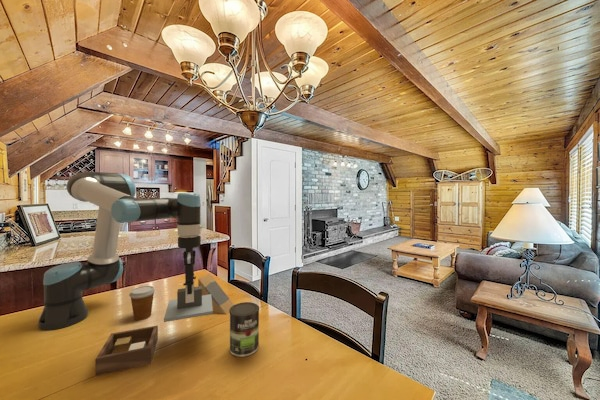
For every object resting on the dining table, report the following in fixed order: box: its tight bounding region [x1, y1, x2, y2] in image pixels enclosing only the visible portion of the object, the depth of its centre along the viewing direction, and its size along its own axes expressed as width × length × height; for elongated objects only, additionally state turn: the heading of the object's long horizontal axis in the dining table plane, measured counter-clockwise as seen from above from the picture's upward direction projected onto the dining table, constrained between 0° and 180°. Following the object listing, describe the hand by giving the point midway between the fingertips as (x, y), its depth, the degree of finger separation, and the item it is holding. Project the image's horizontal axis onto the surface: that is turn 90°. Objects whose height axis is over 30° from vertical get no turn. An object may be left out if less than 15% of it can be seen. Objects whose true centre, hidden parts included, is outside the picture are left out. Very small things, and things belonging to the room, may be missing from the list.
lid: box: [163, 286, 214, 323], centre depth 89 cm, size 15×15×7 cm
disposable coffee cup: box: [128, 285, 156, 321], centre depth 108 cm, size 10×10×12 cm
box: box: [94, 325, 159, 377], centre depth 81 cm, size 14×14×6 cm
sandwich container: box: [197, 273, 235, 316], centre depth 116 cm, size 9×15×15 cm, turn 74°
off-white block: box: [128, 341, 146, 351], centre depth 80 cm, size 4×4×4 cm
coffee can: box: [228, 301, 260, 358], centre depth 87 cm, size 10×10×14 cm
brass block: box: [114, 336, 132, 353], centre depth 82 cm, size 4×4×4 cm
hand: (190, 299), depth 89 cm, fingers closed on lid, 3 cm apart
